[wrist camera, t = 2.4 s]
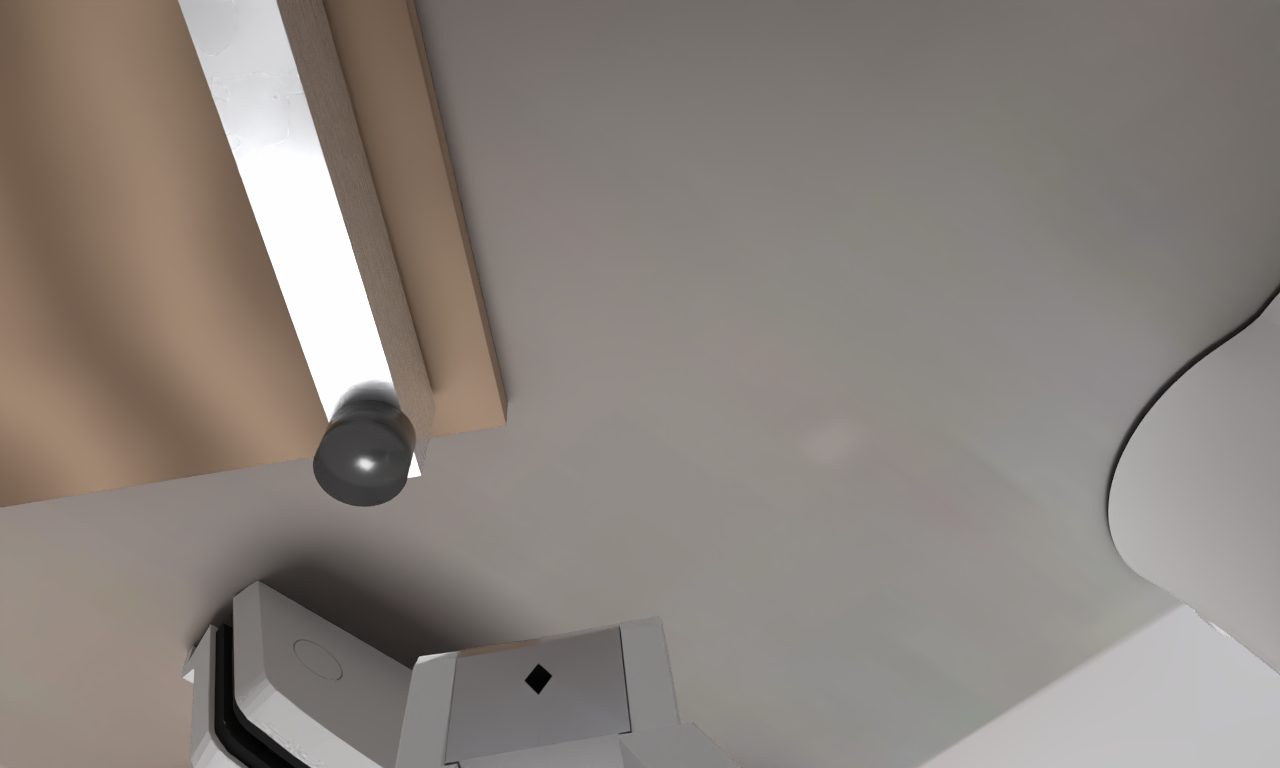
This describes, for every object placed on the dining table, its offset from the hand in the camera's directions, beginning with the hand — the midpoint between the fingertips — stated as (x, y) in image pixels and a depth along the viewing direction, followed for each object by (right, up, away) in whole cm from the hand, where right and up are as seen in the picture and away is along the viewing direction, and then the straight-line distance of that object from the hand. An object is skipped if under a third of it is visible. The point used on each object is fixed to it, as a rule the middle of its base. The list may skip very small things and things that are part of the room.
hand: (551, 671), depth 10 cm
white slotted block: (-9, -10, +26) cm, 29 cm away
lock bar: (-8, +10, +13) cm, 18 cm away
